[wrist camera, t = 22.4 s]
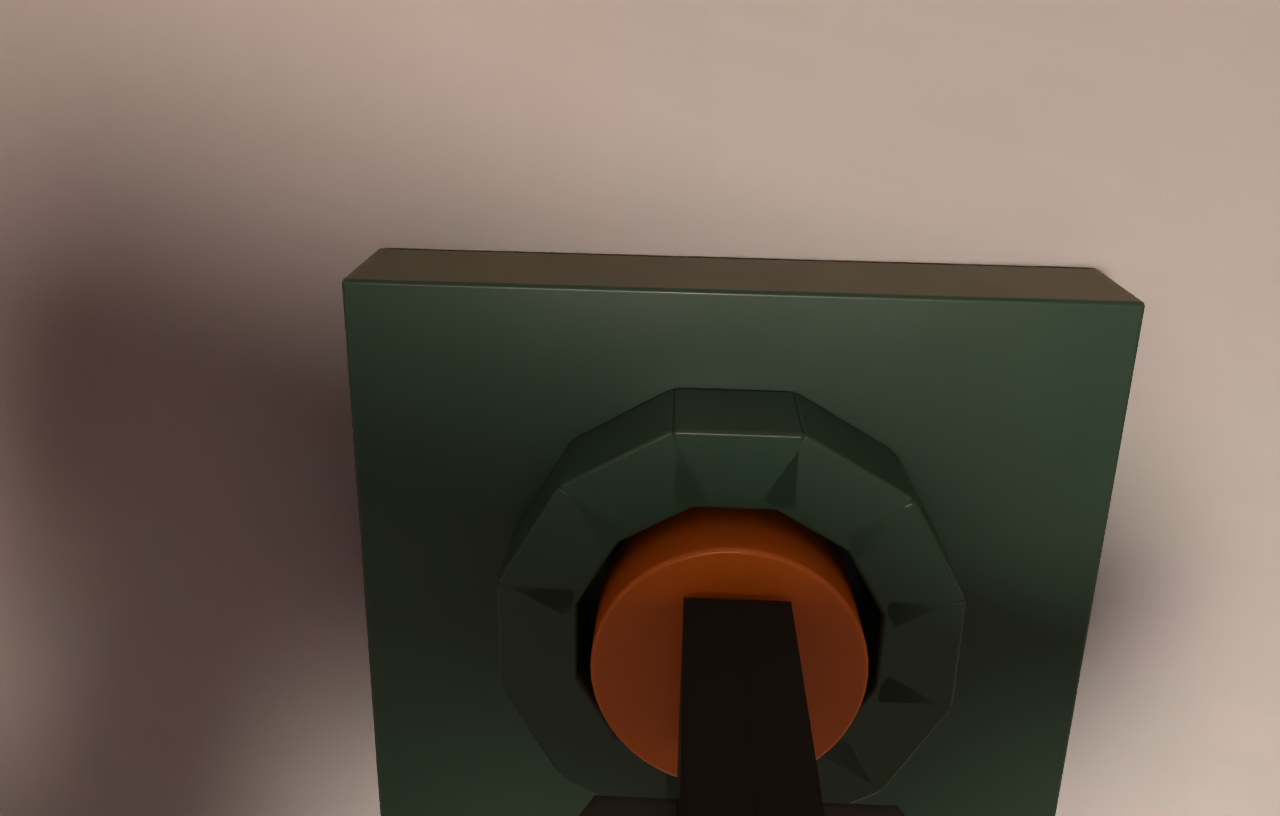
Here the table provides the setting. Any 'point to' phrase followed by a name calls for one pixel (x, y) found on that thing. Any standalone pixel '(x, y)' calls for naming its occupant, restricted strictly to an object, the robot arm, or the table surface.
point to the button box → (729, 502)
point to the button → (722, 569)
